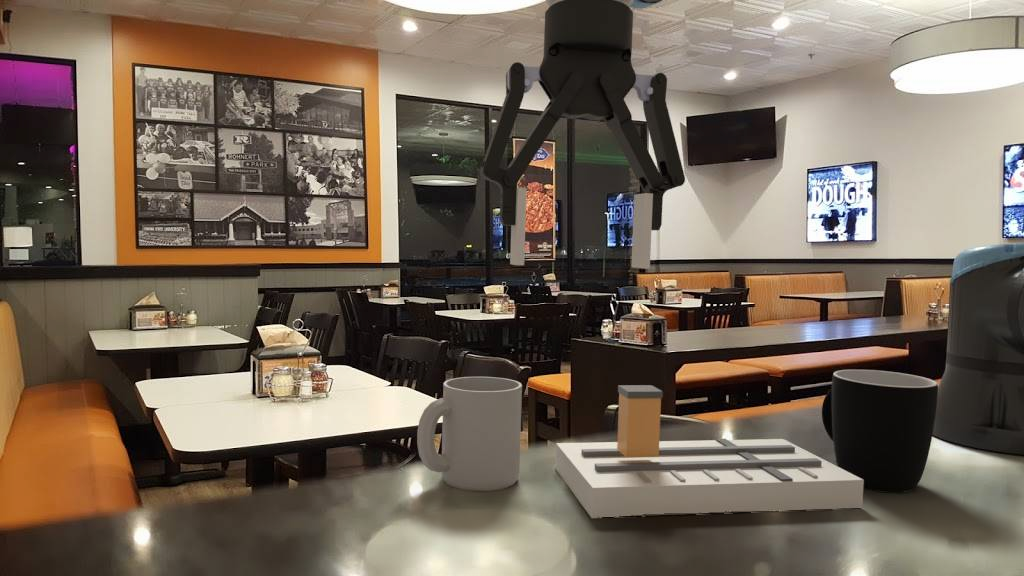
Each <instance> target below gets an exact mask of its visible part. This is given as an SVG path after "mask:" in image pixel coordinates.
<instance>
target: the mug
mask: <svg viewBox="0 0 1024 576" xmlns="http://www.w3.org/2000/svg"><path fill="white" fill-rule="evenodd" d="M831 380H832V381H831V389H829V390H828V392H827V393H826V395H825V396H824V399H823V402H822V405H821V420H822V423H823V427H824V429H825V431H826V434H827V436H828V437H829V439H831V441H832V442H833V449H834V457H835V460H836V466H837V467H839V468H841V469H843V470H845V471H847V472H849V473H851V474H853V475H855V476H857V477H859V478H861V479H863V480H864V484H863V489H865V490H869V489H870V491H875V492H880V493H881V492H883V493H894V494H895V493H898V494H899V493H908V492H911V491H913V490H914V489H915V488H917V486H918V484H919V483H920V481H921V480H922V478H923V474H924V472H925V468H926V465H927V462H928V457H929V454H930V453H929V452H930V449H931V446H932V445H931V444H932V439H933V435H932V434H933V428H934V422H935V415H936V407H937V397H938V386H939V384H938V383H937V381H935V380H933V379H931V378H927V377H924V376H919V375H914V374H909V373H902V372H896V371H895V372H894V371H887V370H877V369H842V370H836V371H834V372H833V374H832V379H831Z"/></svg>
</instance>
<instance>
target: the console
mask: <svg viewBox="0 0 1024 576" xmlns="http://www.w3.org/2000/svg"><path fill="white" fill-rule="evenodd" d="M554 464H555V468H554V469H555V470H556V472H557V473H558V474H559V476H560V477H561V478H562V479H563V481H564V482H565V484H566V485H567V487H568V488H569V490H571V492H572V493H573V495H574V496H575V497H576V498H575V499H577V500H578V502H579V503H580V504H581V506H582V507H583V508H584V510H585V511H586V512H587V514H588V515H589V517H590V518H591V519H603V518H602V517H614V518H620V517H619V516H631V515H634V516H635V515H643V514H664V513H700V512H701V513H709V512H725V511H727V512H728V511H729V512H731V511H746V510H747V511H753V510H754V511H774V510H775V511H779V510H780V511H779V512H789V511H788V510H801V509H802V510H803V509H832V508H833V510H837V509H836V508H861V509H863V500H864V499H863V497H864V488H863V484H864V480H863V479H861V478H859V477H857V476H855V475H853V474H851V473H849V472H847V471H845V470H843V469H841V468H839V467H838V466H837V465H835V464H833V463H831V462H830V461H827V460H825V459H824V458H822V457H820V456H817V455H815V454H814V453H811V452H810V451H807V450H806V449H804V448H801V447H800V446H798V445H796V444H794V443H793V442H790V441H788V440H786V439H784V438H770V439H769V438H764V439H763V438H762V439H758V438H757V439H727V438H716V439H712V440H710V439H706V440H703V439H702V440H662V441H661V440H659V457H635V458H626V457H625V456H624V455H623V454H622V453H621V452H620V451H618V450H617V441H609V442H608V441H605V442H601V441H600V442H599V441H598V442H594V441H593V442H556V443H555V463H554ZM834 508H835V509H834ZM781 510H782V511H781ZM783 510H785V511H783ZM786 510H787V511H786ZM615 516H616V517H615ZM598 517H599V518H598Z"/></svg>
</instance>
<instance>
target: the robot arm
mask: <svg viewBox="0 0 1024 576" xmlns="http://www.w3.org/2000/svg"><path fill="white" fill-rule="evenodd" d="M662 1H664V0H545V2H546V4H547V5H548V6H549V7H548V8H547V9H546V10H545V12H544V29H543V30H544V32H543V34H544V36H543V59H542V61H541V64H540V66H527V65H526V66H524V64H522V63H521V62H519V61H516V62H513V63H512V64H511V66H510V67H509V68H508V70H507V72H506V73H505V97H504V101H503V103H502V107H501V109H500V112H499V115H498V118H497V120H496V123H495V127H494V129H493V133H492V135H491V138H490V140H489V144H488V147H487V148H486V152H485V155H484V158H483V161H482V164H481V167H480V169H479V175H480V177H481V179H483V180H485V181H489V182H491V183H494V184H495V185H497V186H498V188H499V191H500V193H499V197H500V199H499V221H500V224H501V226H511V228H510V234H511V235H510V255H509V256H510V259H509V260H510V261H509V264H510V265H512V266H525V253H526V252H525V249H526V248H525V247H526V223H527V222H526V221H527V219H526V218H527V215H526V214H527V213H526V212H527V192H528V191H527V188H528V187H518V183H519V181H520V180H521V178H522V177H523V175H524V174H525V172H526V171H527V168H528V167H529V166H530V164H531V162H532V161H533V159H534V158H535V156H536V155H537V153H538V152H539V150H540V149H541V148H542V146H543V144H544V143H545V141H546V140H547V138H548V136H549V135H550V134H551V132H552V131H553V129H554V127H555V126H556V124H557V123H558V122H559V120H560V119H561V117H564V119H566V120H567V119H570V120H575V119H580V118H582V119H585V120H586V119H587V120H590V121H597V122H598V121H601V120H603V121H604V124H605V125H606V126H607V128H608V129H609V130H610V131H611V132H612V134H613V136H614V138H615V140H616V141H617V143H618V146H619V147H620V150H621V151H622V153H623V155H624V156H625V159H626V161H627V162H628V165H629V166H630V168H631V170H632V171H633V174H634V176H635V177H636V180H637V181H638V184H639V185H640V187H641V189H642V191H643V192H642V193H638V194H633V195H634V196H633V197H634V198H633V221H632V244H631V263H630V264H631V268H634V269H644V270H645V269H646V270H647V269H648V270H649V269H650V268H651V252H652V251H651V249H652V248H651V247H652V245H651V244H652V231H660V229H661V226H662V220H663V219H662V218H663V199H664V195H665V193H666V192H667V191H669V190H673V189H675V188H678V187H682V186H683V185H684V184H685V182H686V176H685V173H684V168H683V165H682V164H683V163H682V161H681V157H680V152H679V149H678V145H677V141H676V137H675V133H674V129H673V128H674V127H673V124H672V119H671V116H670V112H669V109H668V105H667V100H666V99H667V97H666V96H667V84H668V77H667V75H666V74H665V73H662V72H657V73H656V74H654V75H647V74H639V73H636V72H635V70H634V68H633V64H632V51H633V50H632V49H633V25H634V23H633V22H634V13H633V10H632V9H646V8H650V7H652V6H654V5H656V4H658V3H661V2H662ZM631 8H632V9H631ZM535 82H538V84H539V85H540V86H541V89H543V91H544V92H545V94H546V96H547V98H548V99H549V102H548V104H547V105H546V106H545V108H544V109H543V111H542V113H541V114H540V116H539V117H538V120H537V122H536V123H535V125H534V126H533V128H532V129H531V130H530V132H529V134H528V135H527V137H526V138H525V140H524V142H523V143H522V145H521V146H520V147H519V149H518V150H517V152H516V154H515V156H514V157H513V158H512V160H511V161H510V163H509V164H508V166H507V168H506V169H505V168H502V167H500V166H501V162H502V160H503V157H504V154H505V151H506V148H507V146H508V143H509V139H510V138H511V134H512V131H513V128H514V125H515V122H516V119H517V116H518V113H519V111H520V109H521V105H522V102H523V98H524V95H525V94H527V93H529V91H531V89H532V88H533V84H534V83H535ZM632 89H634V90H635V91H636V94H637V98H638V99H639V100H640V101H641V102H642V106H643V108H642V109H643V113H644V117H645V121H646V125H647V129H648V132H649V137H650V142H651V145H652V149H653V153H654V157H655V161H656V163H655V162H654V160H653V158H652V156H651V154H650V151H649V149H648V148H647V147H646V144H645V142H644V141H643V138H642V136H641V135H640V132H639V131H638V129H637V126H636V125H635V123H634V121H633V118H632V117H633V115H632V113H631V111H630V109H629V106H628V105H627V103H626V101H625V98H626V96H627V95H628V94H629V93H630V91H632ZM948 297H949V298H948V318H947V319H948V320H947V321H948V322H947V339H946V340H947V341H946V357H945V358H946V359H945V369H944V372H943V375H942V376H941V379H940V382H939V384H938V397H937V407H936V415H935V422H934V428H933V434H932V436H935V437H937V438H939V439H942V440H944V441H948V442H951V443H955V444H958V445H961V446H966V447H970V448H975V449H979V450H986V451H991V452H999V453H1006V454H1014V455H1021V456H1022V455H1023V456H1024V242H1017V243H1001V244H992V245H989V244H988V245H984V246H983V245H982V246H976V247H971V248H968V249H964V250H962V251H960V252H959V253H958V254H957V255H956V256H955V258H954V260H953V265H952V271H951V278H950V279H949V295H948Z"/></svg>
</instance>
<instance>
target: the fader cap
mask: <svg viewBox="0 0 1024 576" xmlns="http://www.w3.org/2000/svg"><path fill="white" fill-rule="evenodd" d="M617 392H618V416H617V417H618V421H617V441H616V442H617V450H618V451H620V452H621V453H622V454H623V455H624V456H625V457H626V458H635V457H659V441H660V433H661V408H662V399H663V398H664V392H663V390H661V389H659V388H657V387H655V386H654V385H651V384H650V385H649V384H648V385H645V384H643V385H642V384H640V385H639V384H638V385H636V384H635V385H633V384H631V385H628V384H626V385H624V384H623V385H617Z"/></svg>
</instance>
